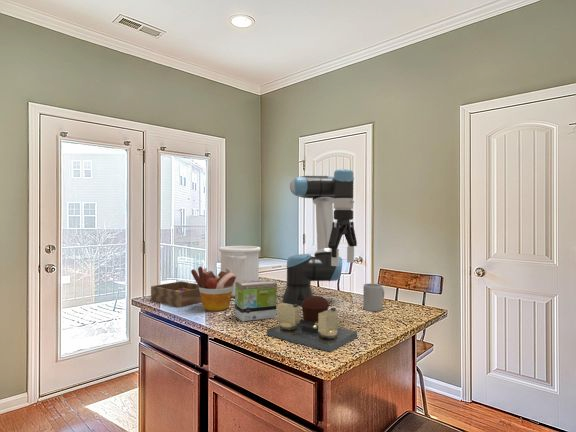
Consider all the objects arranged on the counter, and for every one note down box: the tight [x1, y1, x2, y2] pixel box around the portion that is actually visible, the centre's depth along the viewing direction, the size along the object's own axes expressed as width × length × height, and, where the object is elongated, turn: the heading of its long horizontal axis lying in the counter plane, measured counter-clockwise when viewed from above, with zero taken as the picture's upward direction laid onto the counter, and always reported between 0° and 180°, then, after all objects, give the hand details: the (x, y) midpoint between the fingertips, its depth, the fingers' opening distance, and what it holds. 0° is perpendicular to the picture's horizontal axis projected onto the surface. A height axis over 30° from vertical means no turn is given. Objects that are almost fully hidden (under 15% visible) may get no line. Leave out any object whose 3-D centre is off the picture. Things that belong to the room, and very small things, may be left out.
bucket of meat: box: [190, 266, 236, 312], centre depth 169 cm, size 20×16×20 cm
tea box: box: [234, 279, 278, 322], centre depth 155 cm, size 15×10×15 cm
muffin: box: [300, 295, 331, 322], centre depth 149 cm, size 12×11×10 cm
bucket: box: [218, 245, 262, 298], centre depth 201 cm, size 26×22×25 cm
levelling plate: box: [266, 318, 358, 353], centre depth 131 cm, size 26×18×4 cm
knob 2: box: [318, 307, 339, 339], centre depth 124 cm, size 8×6×9 cm
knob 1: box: [276, 302, 301, 330], centre depth 133 cm, size 8×6×9 cm
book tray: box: [150, 280, 202, 309], centre depth 184 cm, size 23×18×7 cm
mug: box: [362, 283, 385, 312], centre depth 171 cm, size 12×8×11 cm
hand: (343, 264), depth 144 cm, fingers open, 13 cm apart
